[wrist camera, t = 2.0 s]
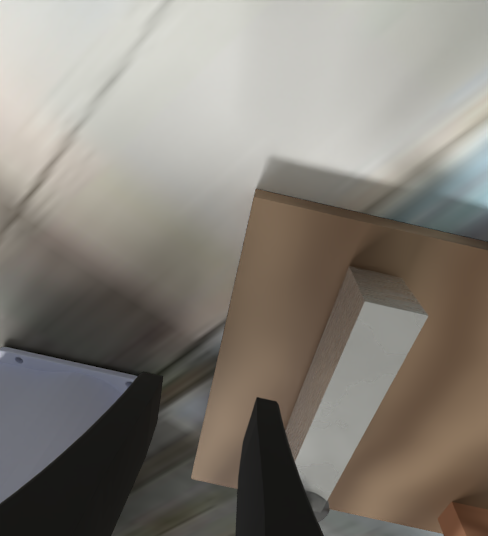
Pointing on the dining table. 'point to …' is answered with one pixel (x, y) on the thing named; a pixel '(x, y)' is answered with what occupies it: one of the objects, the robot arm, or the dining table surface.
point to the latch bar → (350, 376)
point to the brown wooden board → (405, 382)
